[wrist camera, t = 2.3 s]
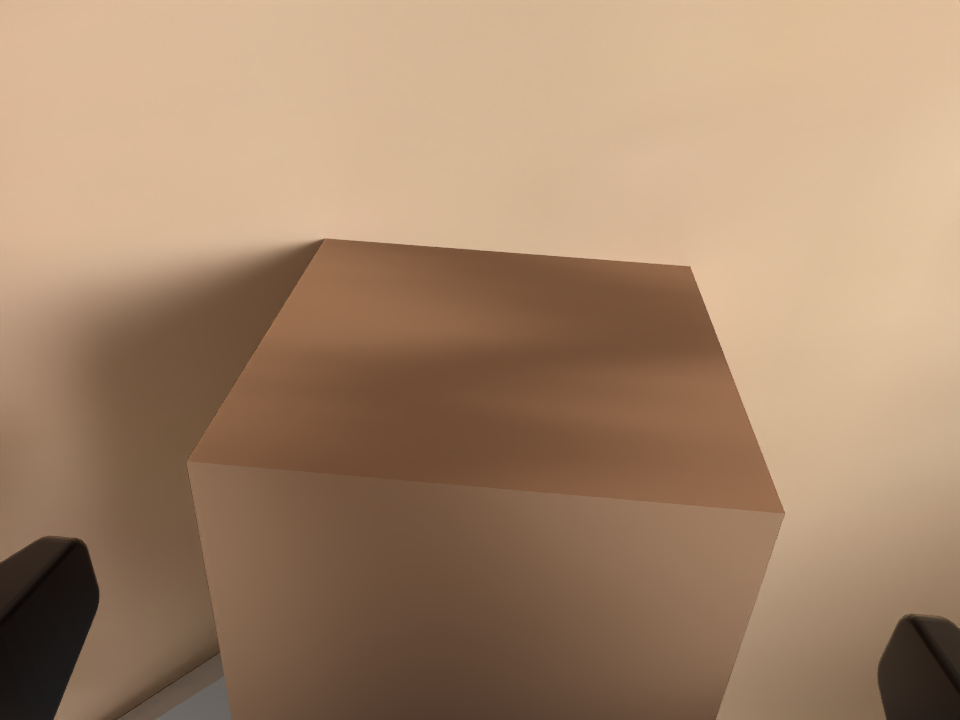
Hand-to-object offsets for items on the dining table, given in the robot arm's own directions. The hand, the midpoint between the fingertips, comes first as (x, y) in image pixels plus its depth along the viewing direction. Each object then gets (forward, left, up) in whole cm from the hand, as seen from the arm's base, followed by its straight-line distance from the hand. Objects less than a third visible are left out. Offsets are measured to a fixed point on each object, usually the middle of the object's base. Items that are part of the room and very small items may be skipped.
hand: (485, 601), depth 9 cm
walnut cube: (0, 0, -4) cm, 4 cm away
